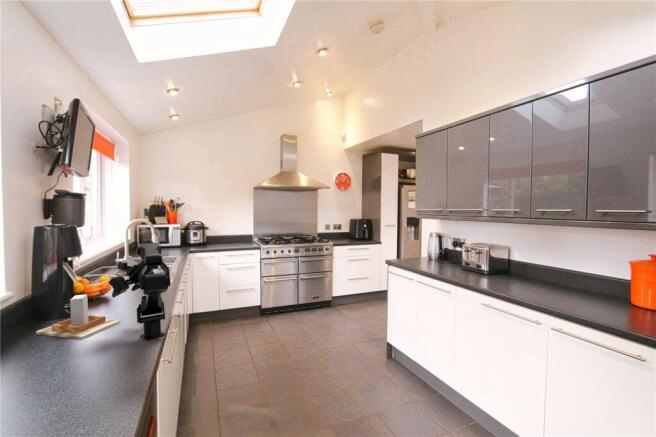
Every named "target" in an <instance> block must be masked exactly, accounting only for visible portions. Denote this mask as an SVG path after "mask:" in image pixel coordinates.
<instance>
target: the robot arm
mask: <svg viewBox="0 0 656 437" xmlns="http://www.w3.org/2000/svg"><path fill="white" fill-rule="evenodd" d="M151 240H152V239H151V238H150V239H149V238H148V239H144V242H141V243H139V246H138V247H137V248H136V250H135V253H136V254H137V256H138V257H140V259H141V260H140V262H139V263H138V262H137V261H135V260H133V259H131V258H128V259H124V260H123V259H122V260H121V261H119V263H117V266H116V267H117V268H118V270H120V271H124V272H125V276H126V277H128V279H125V278H124V276H123V275H118V276H114V277H111V278H110V279H109V280H108V284H109V285H110V286H111V288H112V293H111V297H112V298H114V299H115V298H116V297H118V296H119V295H122V294H125V293H126V292H127V291H128V290H129V289H130V286H132V285H133V286H132V287H131V289H130V290H131V292H135V291H137V290H140V291H142V294H143V295H142V296H141V299H140V303H139V304H138V306H137V307H136V323H137V324H143V333H142V334H140V335H139V337H140V338H142V339H144V341H145V340H146V341H151V340H154V339H157V338H160V337H162V336H165V335H166V333H165V332H163V331H162V324H161V323H162V322H161V321H163V320H166V311H165V304H164V303H165V301H164V300H163V298H162V293H165V292H168V290H169V287H171V275H170V268H169V267H168V266H167V264H166V263H165V262H164V261H163V256H162V246H161V245H160V243H159V242H153V241H151ZM159 268H160V269H161V270H162V271H163V272H158V273H155V272H154V270H155V269H156V270H158V269H159Z"/></svg>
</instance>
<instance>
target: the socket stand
mask: <svg viewBox="0 0 656 437" xmlns="http://www.w3.org/2000/svg"><path fill="white" fill-rule="evenodd" d="M120 323H121V321H120V320H114V319H107V318H106V316H105V315H96V314H95V315H92V314H88V322H87V323H85V324H82V325H79V326H71V317H70V318H67V319H65V320H61V321H59V322H56V323H53V324H51V326H47V327H45V328H42V329H38V330H37V331H35V334H36V335H41V336H42V335H43V336H52V337H59V338H60V337H61V338H68V339H75V340H76V339H78V340H84V339H86V338H88V337H91V336H94V335H96V334H98V333H100V332H103V331H105V330H107V329H110V328H113V327H114V326H117V325H119V324H120Z"/></svg>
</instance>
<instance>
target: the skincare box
mask: <svg viewBox="0 0 656 437" xmlns="http://www.w3.org/2000/svg"><path fill="white" fill-rule="evenodd" d="M69 306H70V307H69V308H70V318H71V326H79V325H82V324H85V323H87V322H88V315H89V307H88V306H89V304H88V293H87V294H86V293H85V294H79V295H78V294H77V295H74V296H73V297H72V298H70V299H69Z"/></svg>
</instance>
